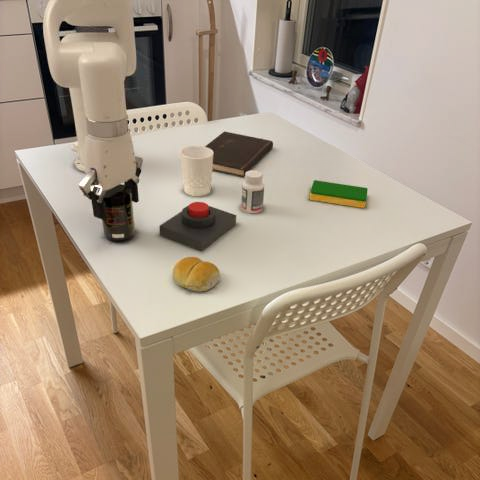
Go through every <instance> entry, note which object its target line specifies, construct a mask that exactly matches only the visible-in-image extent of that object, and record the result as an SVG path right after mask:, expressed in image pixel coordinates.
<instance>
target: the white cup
mask: <svg viewBox="0 0 480 480" xmlns="http://www.w3.org/2000/svg"><path fill="white" fill-rule="evenodd" d="M180 163H181V164H180V165H181V175H182V176H181V177H182V183H183V192H184V193H185V194H187V196H188V195H189V196H192V197H203V196H207V195H208V194H210V192H211V189H212V178H213V171H212V169H213V151H212V150H211V149H209V148H207V147H205V146H202V145H190V146H186V147H183V148H182V149H181V150H180Z"/></svg>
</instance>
